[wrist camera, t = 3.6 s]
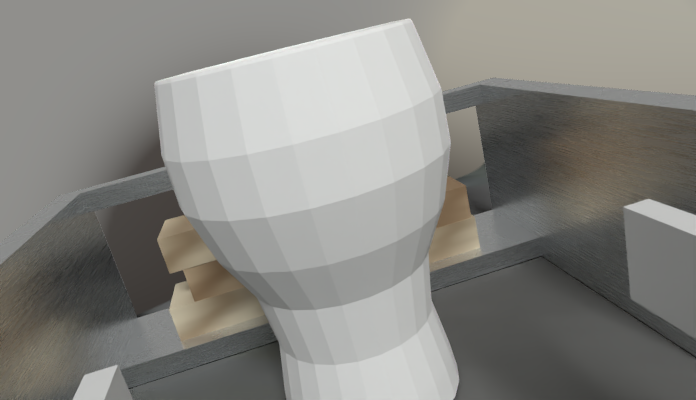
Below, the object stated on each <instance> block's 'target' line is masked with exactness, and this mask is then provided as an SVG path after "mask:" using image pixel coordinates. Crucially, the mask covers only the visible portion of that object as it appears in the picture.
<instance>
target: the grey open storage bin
mask: <svg viewBox="0 0 696 400" xmlns="http://www.w3.org/2000/svg"><path fill="white" fill-rule="evenodd" d="M442 95H443V101H444V107H445V112H446V114H447V113H450V112H454V111H458V110H461V109H465V108H469V107H472V106H476V111H477V117H478V124H479V130H480V136H481V142H482V147H483V154H484V160H485V167H486V173H487V179H488V185H489V191H490V197H491V203H492V209H493V210H490V211H487V212H483V213H480V214H477V215H473V216H474V217H475V221H476V227H477V232H478V238H479V244H480V248H477V249H474V250H471V251H468V252H464V253H461V254H458V255H455V256H452V257H448V258H445V259H442V260H439V261H436V262H433V263H429V270H430V286H431V291H434V290H437V289H440V288H443V287H446V286H449V285H452V284H456V283H459V282H462V281H465V280H468V279H471V278H474V277H477V276H480V275H484V274H487V273H490V272H493V271H496V270H499V269H502V268H505V267H509V266H512V265H515V264H518V263H521V262H524V261H527V260H530V259H533V258H537V257H540V256H542V257H544V258H546V259H547V260H549V261H550V262H552V263H553V264H555V265H556V266H558V267H559V268H561V269H562V270H564V271H565V272H567V273H568V274H570V275H572V276H573V277H575V278H576V279H578V280H579V281H581V282H582V283H584V284H585V285H587V286H588V287H590V288H591V289H593V290H594V291H596V292H598V293H599V294H601V295H602V296H604V297H605V298H607V299H608V300H610V301H611V302H613V303H614V304H616V305H617V306H619V307H620V308H622V309H623V310H625V311H627V312H628V313H630V314H631V315H633V316H634V317H636V318H637V319H639V320H640V321H642V322H643V323H645V324H646V325H648V326H649V327H651V328H653V329H654V330H656V331H657V332H659V333H660V334H662V335H663V336H665V337H666V338H668V339H669V340H671V341H672V342H674V343H675V344H677V345H678V346H680V347H682V348H683V349H685V350H686V351H688V352H689V353H691V354H692V355H694V356H695V357H696V339H695V338H693V337H691V336H690V335H688V334H687V333H685V332H683V331H682V330H680V329H679V328H677V327H675V326H674V325H672V324H670V323H669V322H667V321H666V320H664V319H662V318H661V317H659V316H658V315H656V314H654V313H653V312H651V311H650V310H648V309H646V308H645V307H643V306H641V305H640V304H638V303H637V302H635V301H633V300H632V299H631V298H630V286H629V274H628V262H627V250H626V238H625V226H624V214H623V207H624V206H627V205H630V204H634V203H637V202H640V201H643V200H646V199H651V200H654V201H657V202H660V203H662V204H665V205H668V206H671V207H674V208H677V209H679V210H682V211H685V212H688V213H691V214H694V215H696V96H694V95H682V94H671V93H660V92H649V91H638V90H626V89H614V88H603V87H591V86H581V85H570V84H558V83H547V82H535V81H524V80H513V79H501V78H491V79H487V80H483V81H480V82H476V83H472V84H469V85H465V86H462V87H458V88H454V89H450V90H447V91H443V92H442ZM172 189H173V186H172V184H171V181H170V178H169V175H168V172H167V170H166V167H163V168H159V169H155V170H152V171H148V172H144V173H140V174H137V175H133V176H129V177H126V178H122V179H118V180H115V181H111V182H107V183H104V184H100V185H96V186H93V187H89V188H85V189H82V190H78V191H74V192H71V193H67V194H63V195H59V196H58V197H57V198H56V199H54V200H53V201H52V202H51V203H49V204H48V205H47V206H46V207H44V208H43V209H42V210H41V211H39V212H38V213H37V214H36V215H35V216H33V217H32V218H31V219H29V220H28V221H27V222H26V223H24V224H23V225H22V226H21V227H20V228H18V229H17V230H16V231H14V232H13V233H12V234H11V235H9V236H8V237H7V238H6V239H4V240H3V241H2V242H1V243H0V400H73V398H74V396H75V394H76V392H77V389H78V387H79V385H80V383H81V381H82V379H83V377H84V375H86V374H89V373H92V372H95V371H99V370H102V369H105V368H108V367H112V366H115V365H118V366H119V368H120V371H121V373H122V375H123V378H124V380H125V382H126V385H127V387H128V388H131V387H134V386H138V385H141V384H144V383H147V382H150V381H153V380H156V379H159V378H162V377H166V376H169V375H172V374H175V373H178V372H181V371H184V370H187V369H191V368H194V367H197V366H200V365H203V364H206V363H209V362H212V361H215V360H219V359H222V358H225V357H228V356H231V355H234V354H237V353H240V352H244V351H247V350H250V349H253V348H256V347H259V346H262V345H265V344H268V343H272V342H275V341H278V340H277V338H276V336H275V334H274V332H273V330H272V328H271V326H270V324H269V322H268V320H267V318H266V316H265V315H263V316H260V317H257V318H254V319H251V320H248V321H244V322H241V323H238V324H235V325H232V326H228V327H225V328H222V329H219V330H216V331H212V332H209V333H206V334H203V335H200V336H197V337H193V338H190V339H187V340H184V341H181V340H180V337H179V335H178V332H177V330H176V327H175V324H174V322H173V319H172V316H171V314H170V311H169V309H170V308H168V309H165V310H162V311H158V312H155V313H152V314H149V315H145V316H142V317H139V318H138V317H137V315H136V313H135V310H134V308H133V305H132V303H131V300H130V298H129V295H128V293H127V290H126V288H125V285H124V283H123V280H122V278H121V276H120V273H119V270H118V268H117V266H116V263H115V261H114V258H113V256H112V253H111V251H110V248H109V246H108V243H107V241H106V238H105V236H104V233H103V231H102V229H101V226H100V223H99V221H98V219H97V216H96V213H95V211H97V210H100V209H104V208H108V207H111V206H115V205H118V204H122V203H126V202H129V201H133V200H136V199H140V198H144V197H147V196H151V195H154V194H158V193H162V192H165V191H169V190H172Z"/></svg>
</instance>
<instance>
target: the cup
mask: <svg viewBox="0 0 696 400" xmlns="http://www.w3.org/2000/svg"><path fill="white" fill-rule="evenodd" d="M154 87H155V97H156V106H157V115H158V126H159V135H160V145H161V154H162V158H163V161H164V164H165V167H166V170H167V172H168V175H169V178H170V181H171V184H172V186H173V189H174V192H175V195H176V197H177V200H178V203H179V206H180V208H181V210H182V211H183V213H184V215H185V216H186V218H187V219H188V220H189V222H190V223H191V225H192V226H193V227H194V229H195V230H196V232H197V233H198V234H199V236H200V237H201V238H202V240H203V241H204V243H205V244H206V245H207V247H208V248H209V250H210V251H211V252H212V254H213V255H214V257H215V258H216V259H217V261H218V262H219V263H220V264H221V265H222V266H223V267H224V268H225V269H226V270H227V271H228V272H229V273H230V274H232V275H233V276H234V277H235V278H236V279H237V280H238V281H239V282H240V283H241V284H242V285H244V286H245V287H246V288H247V289H248V290H249V291H250V292H251V293H252V294H253V295H255V296H256V297H257V299H258V301H259V303H260V305H261V307H262V309H263V311H264V314H265V316H266V318H267V320H268V322H269V324H270V326H271V328H272V330H273V332H274V334H275V336H276V338H277V340H278V342H279V346H280V354H281V362H282V371H283V379H284V388H285V395H286V400H453V399H454V398H455V396H456V392H457V388H458V384H459V375H458V368H457V364H456V361H455V358H454V355H453V352H452V349H451V346H450V343H449V341H448V338H447V336H446V334H445V331H444V329H443V326H442V324H441V322H440V319H439V317H438V314H437V312H436V310H435V307H434V305H433V302H432V300H431V286H430V270H429V253H428V252H429V248H430V245H431V242H432V239H433V236H434V233H435V229H436V226H437V223H438V220H439V217H440V213H441V210H442V207H443V204H444V201H445V193H446V184H447V174H448V165H449V154H450V145H451V141H450V135H449V130H448V124H447V118H446V112H445V107H444V101H443V95H442V90H441V87H440V84H439V82H438V80H437V77H436V75H435V73H434V70H433V68H432V66H431V63H430V61H429V59H428V56H427V54H426V52H425V49H424V47H423V45H422V42H421V40H420V38H419V35H418V33H417V31H416V28H415V26H414V24H413V22H412V20H411V19H410V18H409V19H404V20H399V21H394V22H390V23H385V24H381V25H377V26H373V27H368V28H364V29H360V30H356V31H352V32H347V33H344V34H339V35H335V36H331V37H327V38H323V39H319V40H315V41H310V42H306V43H303V44H298V45H294V46H290V47H286V48H283V49H278V50H274V51H270V52H266V53H262V54H258V55H254V56H251V57H246V58H242V59H238V60H234V61H231V62H227V63H223V64H219V65H215V66H211V67H207V68H203V69H199V70H195V71H192V72H188V73H184V74H181V75H177V76H174V77H169V78H166V79H162V80H159V81H157V82H155V84H154Z"/></svg>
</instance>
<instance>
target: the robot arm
mask: <svg viewBox="0 0 696 400" xmlns="http://www.w3.org/2000/svg"><path fill="white" fill-rule="evenodd" d="M623 214H624V226H625V238H626V250H627V262H628V274H629V286H630V298H631V299H632V300H633V301H635V302H637V303H638V304H640V305H641V306H643V307H645V308H646V309H648V310H650V311H651V312H653V313H654V314H656V315H658V316H659V317H661V318H662V319H664V320H666V321H667V322H669V323H670V324H672V325H674V326H675V327H677V328H679V329H680V330H682V331H683V332H685V333H687V334H688V335H690V336H691V337H693V338H695V339H696V215H694V214H691V213H688V212H685V211H682V210H679V209H677V208H674V207H671V206H668V205H665V204H662V203H660V202H657V201H654V200H651V199H646V200H643V201H640V202H637V203H634V204H630V205H627V206H624V207H623ZM73 400H133V399H132V396H131V394H130V392H129V389H128V387H127V385H126V382H125V380H124V378H123V375H122V373H121V371H120V368H119V366H118V365H115V366H112V367H108V368H105V369H102V370H99V371H95V372H92V373H89V374H86V375H84V377H83V379H82V381H81V383H80V385H79V387H78V389H77V392H76V394H75V396H74V398H73Z"/></svg>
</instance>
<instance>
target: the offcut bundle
mask: <svg viewBox="0 0 696 400" xmlns="http://www.w3.org/2000/svg"><path fill="white" fill-rule="evenodd" d="M157 241H158V243H159V246H160V249H161V251H162V254H163V257H164V260H165V262H166V265H167V267H168V270H169V273H174V272H177V271H180V270H183V271H184V274H185V277H186V280H187V281H185V282H181V283H178V284H176V286H175V289H174V293H173V297H172V301H171V305H170V309H169V311H170V314H171V316H172V319H173V322H174V324H175V327H176V330H177V332H178V335H179V337H180V340H181V341H184V340H187V339H190V338H193V337H197V336H200V335H203V334H206V333H209V332H212V331H216V330H219V329H222V328H225V327H228V326H232V325H235V324H238V323H241V322H244V321H248V320H251V319H254V318H257V317H260V316H263V315H265V314H264V311H263V309H262V307H261V305H260V303H259V301H258V299H257V297H256V296H255V295H253V294H252V293H251V292H250V291H249V290H248V289H247V288H246V287H245V286H244V285H242V284H241V283H240V282H239V281H238V280H237V279H236V278H235V277H234V276H233V275H232V274H230V273H229V272H228V271H227V270H226V269H225V268H224V267H223V266H222V265H221V264H220V263H219V262H218V261H217V259H216V258H215V257H214V255H213V254H212V252H211V251H210V250H209V248H208V247H207V245H206V244H205V243H204V241H203V240H202V238H201V237H200V236H199V234H198V233H197V232H196V230H195V229H194V227H193V226H192V225H191V223H190V222H189V220H188V219H187V218H186V216H185V215H183V216H179V217H176V218H172V219H169V220H166V221H165V222H164V225H163V227H162V230H161V232H160V234H159V237H158V239H157ZM477 248H480V244H479V238H478V232H477V227H476V221H475V217H474V216H473V215H471V213H470V208H469V202H468V196H467V191H466V186H465V185H464V184H462V183H460V182H458V181H456V180H455V179H453V178H451V177H449V176H448V175H447V184H446V193H445V201H444V204H443V207H442V210H441V213H440V217H439V220H438V223H437V226H436V229H435V233H434V236H433V239H432V242H431V245H430V248H429V252H428V253H429V263H433V262H436V261H439V260H442V259H445V258H448V257H452V256H455V255H458V254H461V253H464V252H468V251H471V250H474V249H477Z"/></svg>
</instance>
